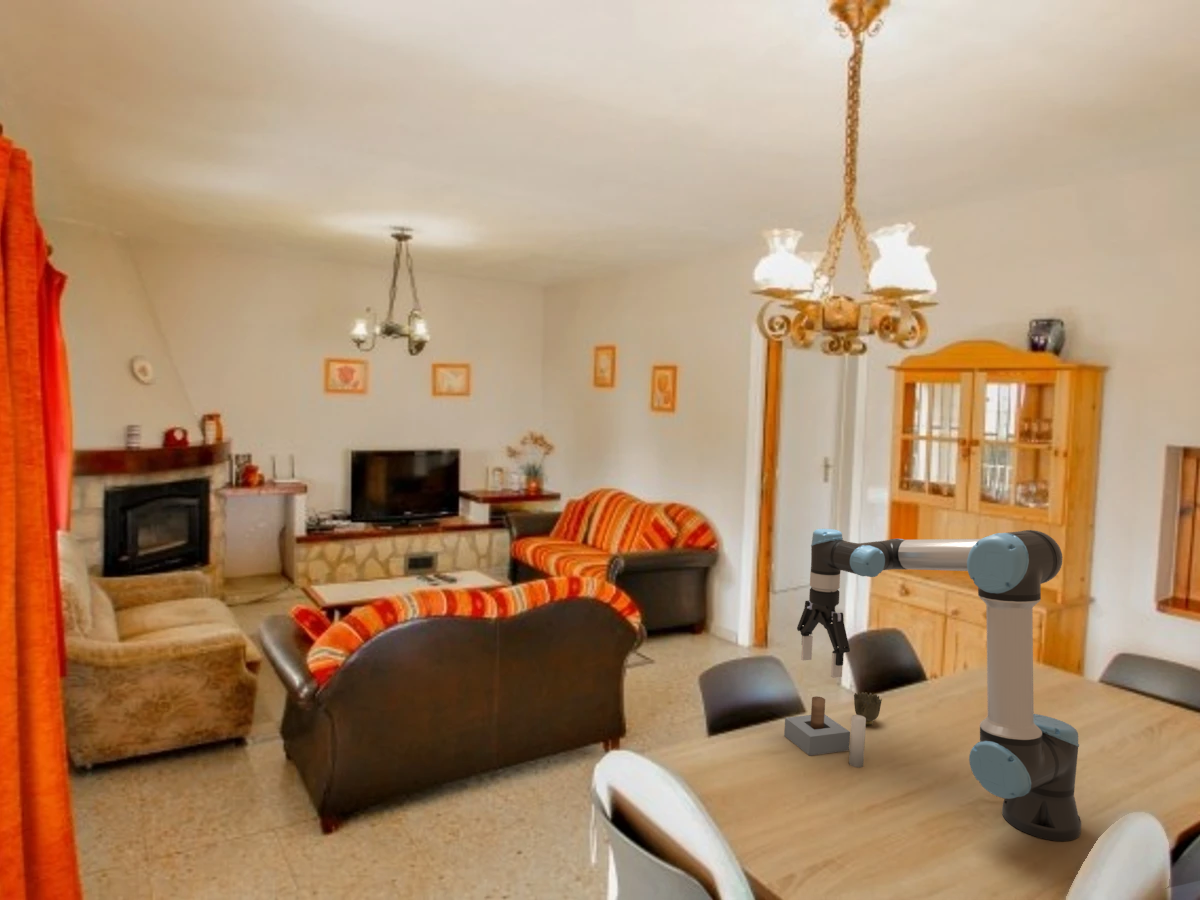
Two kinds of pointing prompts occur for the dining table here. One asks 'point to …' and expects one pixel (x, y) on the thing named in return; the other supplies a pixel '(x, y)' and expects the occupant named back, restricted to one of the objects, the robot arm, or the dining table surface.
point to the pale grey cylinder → (857, 740)
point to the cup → (867, 706)
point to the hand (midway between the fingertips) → (820, 668)
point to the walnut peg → (817, 713)
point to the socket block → (817, 735)
